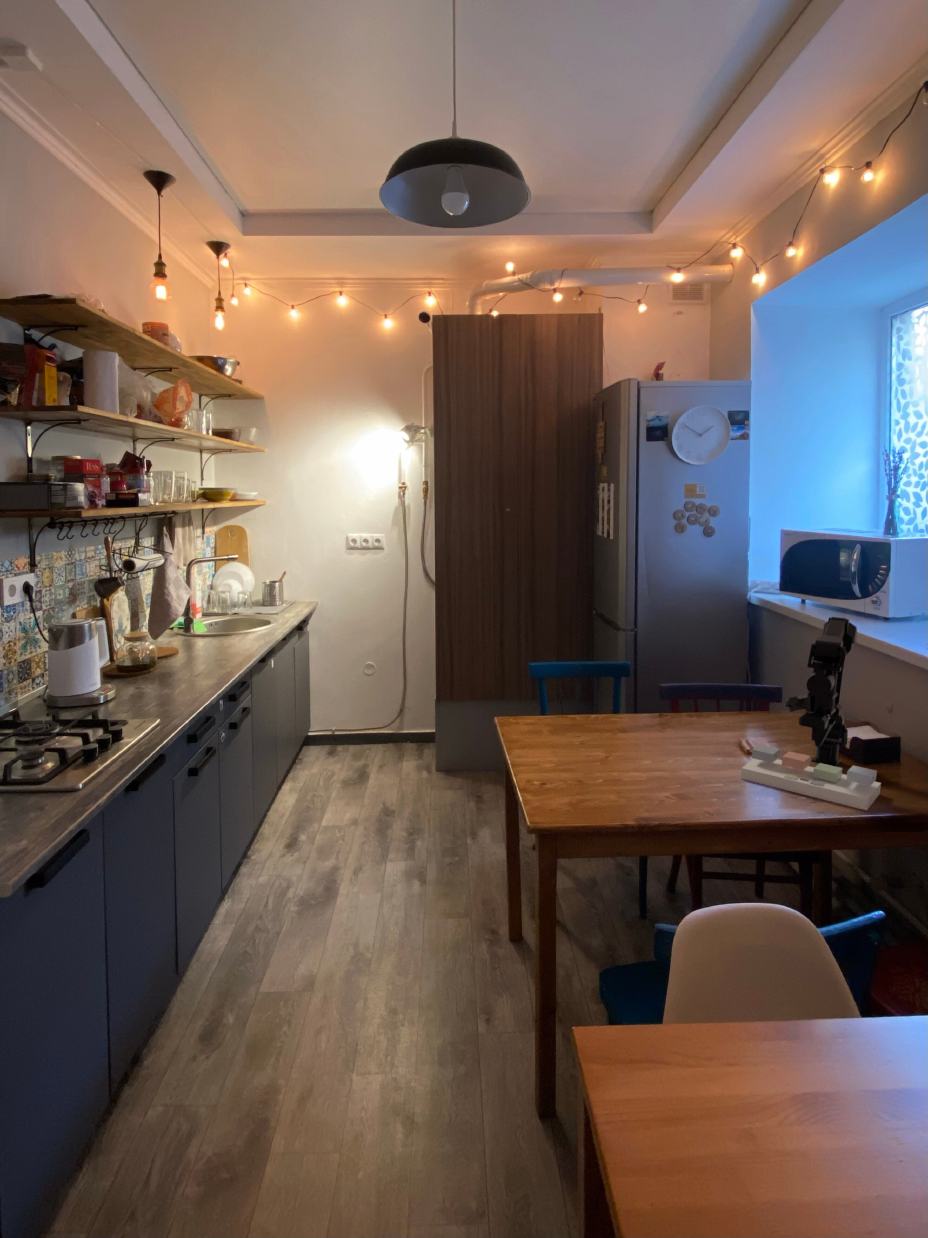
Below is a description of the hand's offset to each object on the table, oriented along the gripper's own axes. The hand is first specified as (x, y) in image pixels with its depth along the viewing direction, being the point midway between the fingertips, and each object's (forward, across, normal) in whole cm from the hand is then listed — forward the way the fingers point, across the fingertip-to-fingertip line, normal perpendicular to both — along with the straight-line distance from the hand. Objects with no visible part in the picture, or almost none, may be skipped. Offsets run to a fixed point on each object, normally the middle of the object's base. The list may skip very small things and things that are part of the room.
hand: (817, 746), depth 203 cm
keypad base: (+11, +1, -1) cm, 11 cm away
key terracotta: (+6, 0, -5) cm, 8 cm away
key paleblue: (+6, 0, +11) cm, 13 cm away
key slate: (+6, 0, -13) cm, 14 cm away
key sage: (+8, 0, +3) cm, 8 cm away
